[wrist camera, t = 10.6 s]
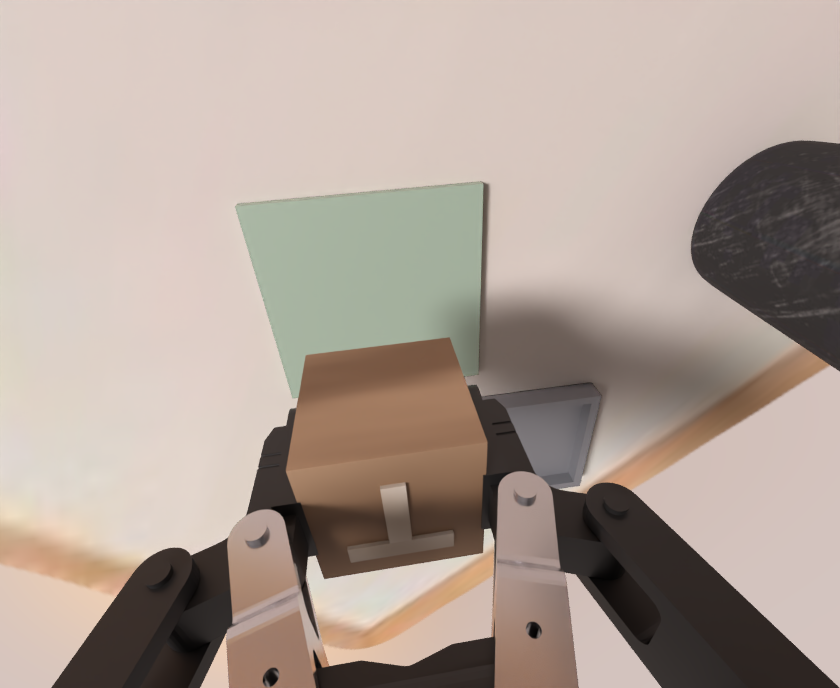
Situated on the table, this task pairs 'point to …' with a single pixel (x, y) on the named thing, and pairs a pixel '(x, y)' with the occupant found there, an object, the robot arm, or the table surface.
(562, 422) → the tray
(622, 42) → the table surface
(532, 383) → the table surface
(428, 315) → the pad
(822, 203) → the travel mug
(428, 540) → the letter cube
